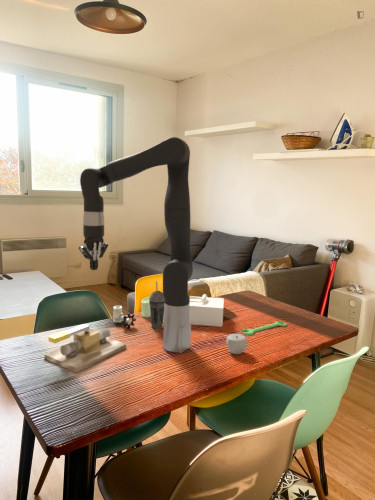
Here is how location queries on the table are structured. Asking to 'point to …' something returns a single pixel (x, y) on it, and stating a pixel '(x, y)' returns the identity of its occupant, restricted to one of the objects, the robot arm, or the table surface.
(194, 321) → the tissue box
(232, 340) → the apple
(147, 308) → the candle
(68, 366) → the pipe board
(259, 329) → the wrench
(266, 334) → the table surface
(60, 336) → the valve lever
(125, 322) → the valve
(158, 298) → the beverage cup
